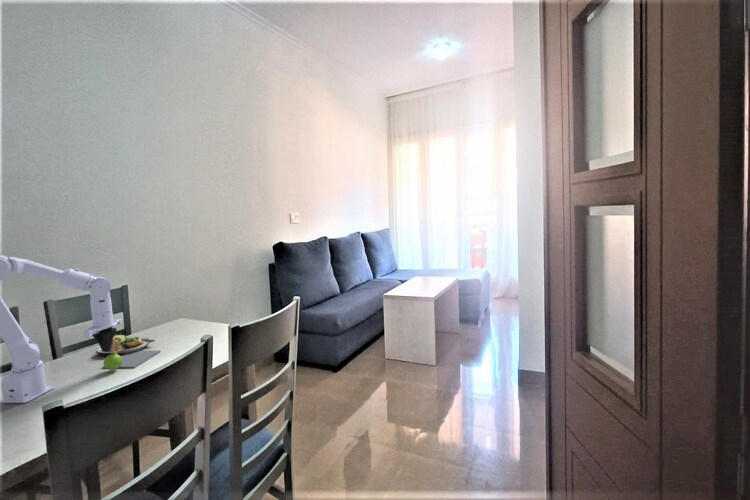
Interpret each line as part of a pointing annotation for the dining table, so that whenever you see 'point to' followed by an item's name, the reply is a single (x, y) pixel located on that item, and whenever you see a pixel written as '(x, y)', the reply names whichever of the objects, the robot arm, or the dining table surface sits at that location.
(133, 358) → the slate mat
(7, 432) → the dining table surface
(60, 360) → the dining table surface
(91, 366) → the dining table surface
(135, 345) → the salad plate
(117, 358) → the snail figurine
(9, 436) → the dining table surface
